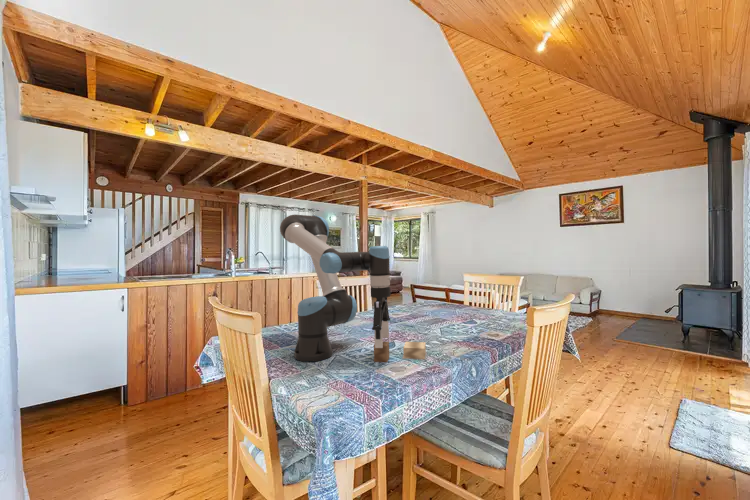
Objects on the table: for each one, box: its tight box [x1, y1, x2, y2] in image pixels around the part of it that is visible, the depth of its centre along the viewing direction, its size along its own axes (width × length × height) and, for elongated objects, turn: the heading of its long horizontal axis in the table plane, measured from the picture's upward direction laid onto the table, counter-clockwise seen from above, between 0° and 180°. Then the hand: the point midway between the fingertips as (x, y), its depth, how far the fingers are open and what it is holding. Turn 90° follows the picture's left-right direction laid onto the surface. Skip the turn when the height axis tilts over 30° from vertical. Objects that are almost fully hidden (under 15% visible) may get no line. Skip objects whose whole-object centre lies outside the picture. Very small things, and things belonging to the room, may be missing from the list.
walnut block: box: [373, 340, 390, 363], centre depth 124 cm, size 5×5×7 cm
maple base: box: [403, 341, 427, 360], centre depth 128 cm, size 8×8×4 cm
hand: (382, 342), depth 123 cm, fingers open, 13 cm apart
